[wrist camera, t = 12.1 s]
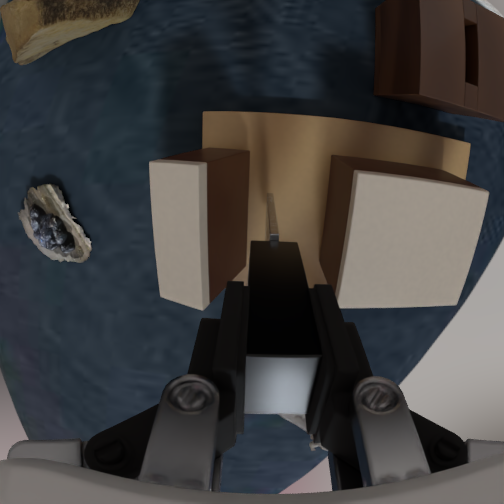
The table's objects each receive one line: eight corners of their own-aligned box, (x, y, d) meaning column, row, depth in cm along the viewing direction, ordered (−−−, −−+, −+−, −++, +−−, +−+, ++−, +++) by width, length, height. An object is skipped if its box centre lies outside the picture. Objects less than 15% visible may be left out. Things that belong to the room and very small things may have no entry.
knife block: (454, 32, 16) (510, 21, 10) (452, 113, 19) (510, 123, 13) (374, 8, 16) (417, -22, 10) (372, 95, 19) (419, 94, 13)
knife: (286, 193, 20) (328, 347, 7) (283, 237, 21) (309, 419, 8) (253, 192, 20) (242, 345, 7) (252, 236, 21) (241, 419, 8)
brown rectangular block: (250, 150, 19) (198, 164, 14) (246, 266, 23) (202, 311, 18) (208, 147, 20) (148, 161, 15) (209, 257, 24) (160, 297, 19)
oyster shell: (43, 166, 21) (30, 172, 20) (110, 228, 24) (100, 237, 22) (16, 224, 24) (4, 232, 22) (75, 279, 26) (66, 290, 24)
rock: (-3, 97, 16) (86, 105, 16) (-56, 32, 8) (29, 5, 8) (70, 9, 19) (162, 6, 19) (43, -58, 10) (148, -81, 10)
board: (464, 141, 20) (471, 143, 19) (432, 284, 26) (437, 290, 25) (204, 111, 20) (202, 111, 19) (206, 280, 26) (205, 287, 25)
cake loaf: (442, 169, 20) (489, 191, 15) (422, 265, 24) (456, 305, 18) (331, 154, 20) (358, 172, 15) (318, 262, 24) (335, 308, 18)
